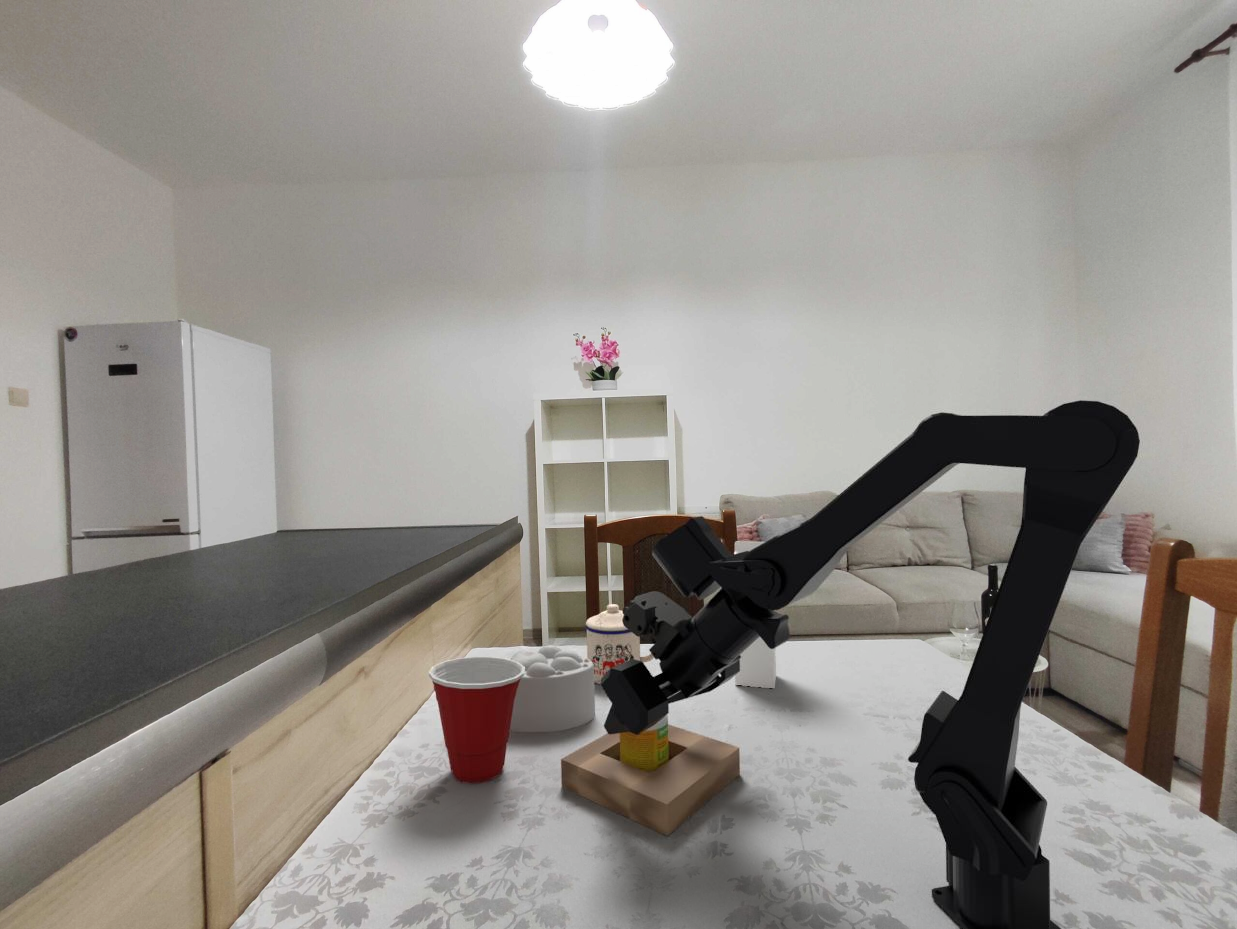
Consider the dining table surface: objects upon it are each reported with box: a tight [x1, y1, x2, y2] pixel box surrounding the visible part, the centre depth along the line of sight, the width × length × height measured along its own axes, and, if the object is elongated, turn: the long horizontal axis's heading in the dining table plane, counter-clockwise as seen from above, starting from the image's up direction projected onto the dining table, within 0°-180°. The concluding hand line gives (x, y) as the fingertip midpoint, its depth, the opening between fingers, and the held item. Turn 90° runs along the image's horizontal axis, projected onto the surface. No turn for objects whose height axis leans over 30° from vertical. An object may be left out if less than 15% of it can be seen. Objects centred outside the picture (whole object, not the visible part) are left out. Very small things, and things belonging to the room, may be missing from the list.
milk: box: [733, 540, 777, 690], centre depth 95 cm, size 6×6×22 cm
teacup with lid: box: [584, 603, 655, 685], centre depth 98 cm, size 12×9×12 cm
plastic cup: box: [428, 656, 525, 784], centre depth 69 cm, size 11×11×12 cm
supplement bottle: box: [620, 714, 669, 774], centre depth 67 cm, size 5×5×10 cm
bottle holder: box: [560, 723, 741, 837], centre depth 66 cm, size 14×14×3 cm
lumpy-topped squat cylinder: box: [506, 644, 596, 733], centre depth 84 cm, size 10×13×9 cm
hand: (633, 715), depth 68 cm, fingers open, 9 cm apart
